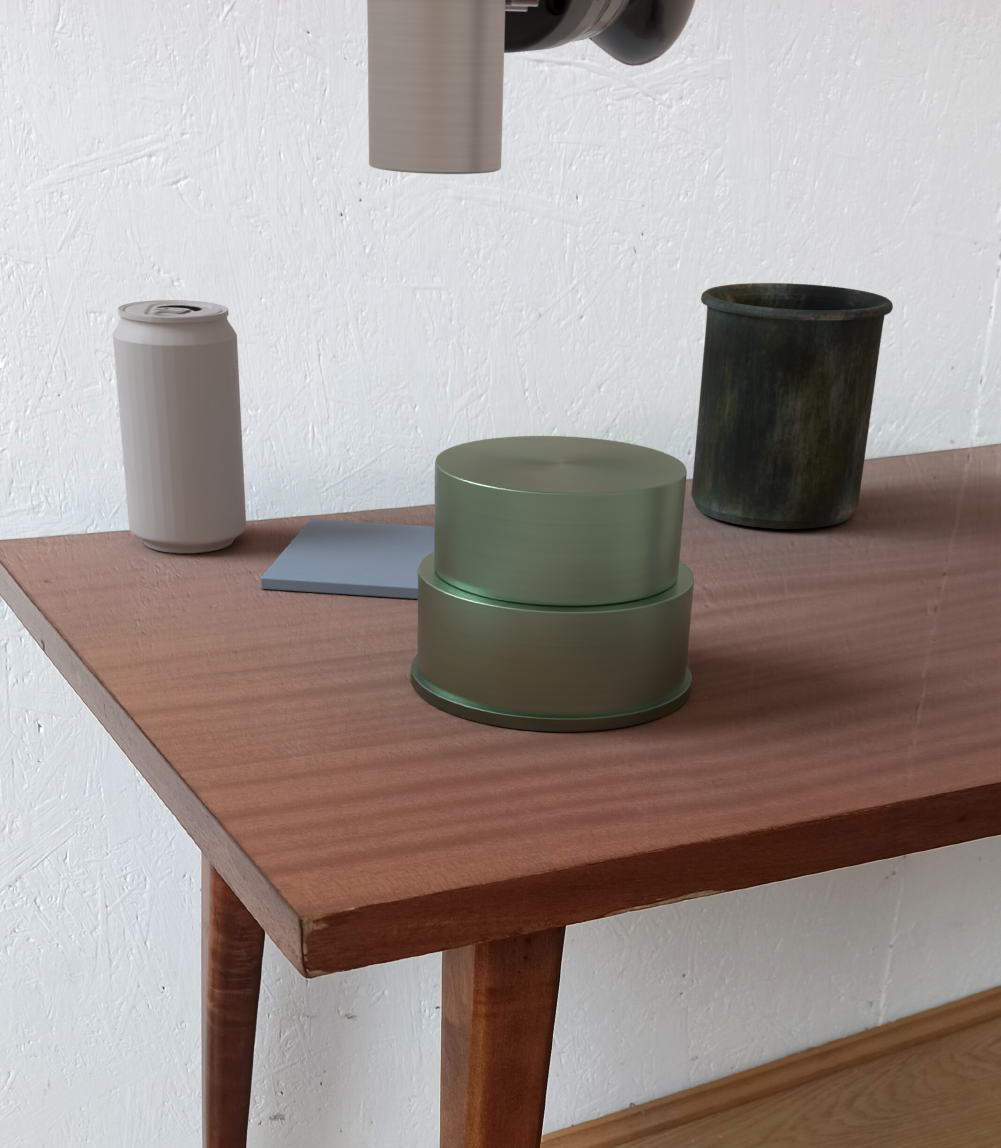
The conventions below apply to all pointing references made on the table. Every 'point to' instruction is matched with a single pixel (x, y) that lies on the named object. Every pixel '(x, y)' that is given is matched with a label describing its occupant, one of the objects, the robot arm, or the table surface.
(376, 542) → the mat
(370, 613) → the table surface
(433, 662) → the green tiered metal tin
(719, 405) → the dark green bucket
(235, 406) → the beverage can
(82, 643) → the table surface
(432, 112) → the silver lidded canister
